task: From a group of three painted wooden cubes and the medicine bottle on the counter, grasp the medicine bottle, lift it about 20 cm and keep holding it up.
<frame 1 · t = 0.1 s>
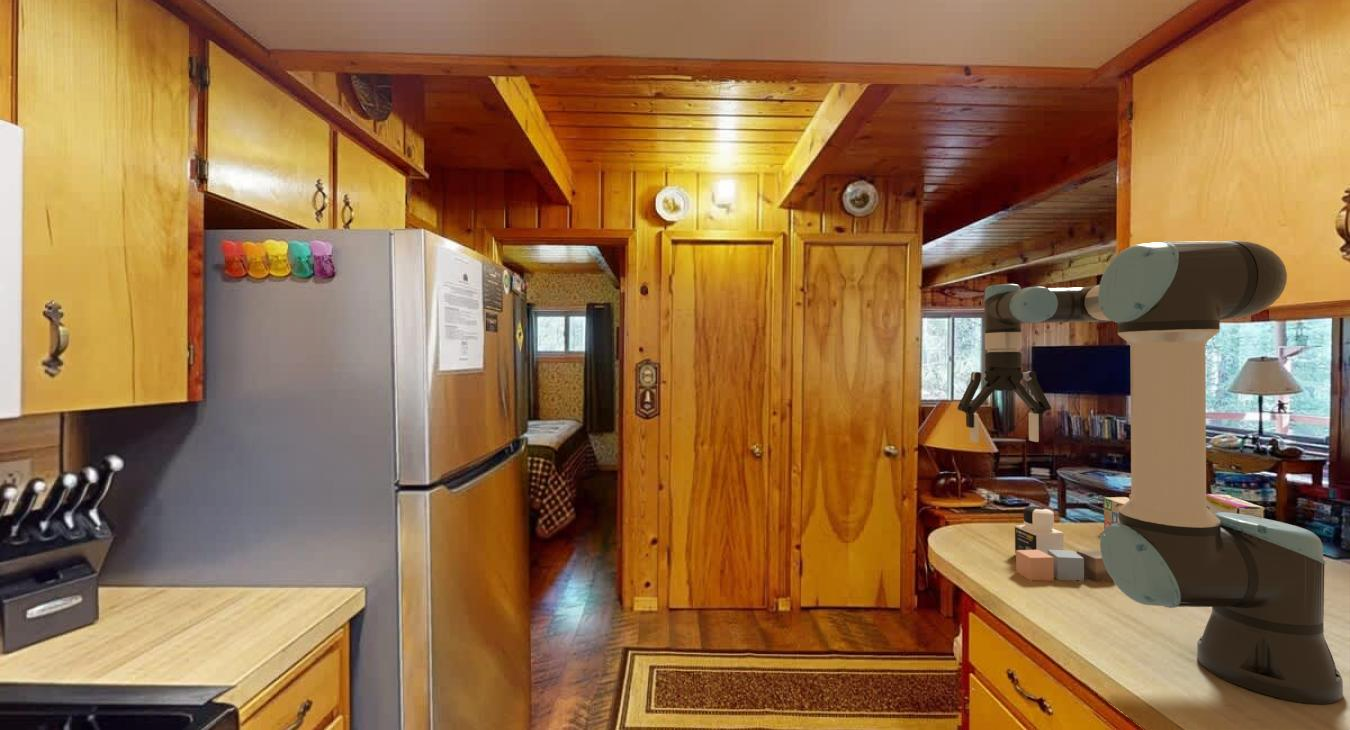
hand: (1003, 441, 136), 28 cm above the counter, fingers open, 13 cm apart
walnut cube: (1096, 576, 125), on the counter
candy bar box: (1233, 576, 124), on the counter
medicine bottle: (1038, 559, 136), on the counter
stack of blocks: (1146, 544, 146), on the counter
terracotta cube: (1034, 576, 126), on the counter
slate blue cube: (1065, 576, 125), on the counter
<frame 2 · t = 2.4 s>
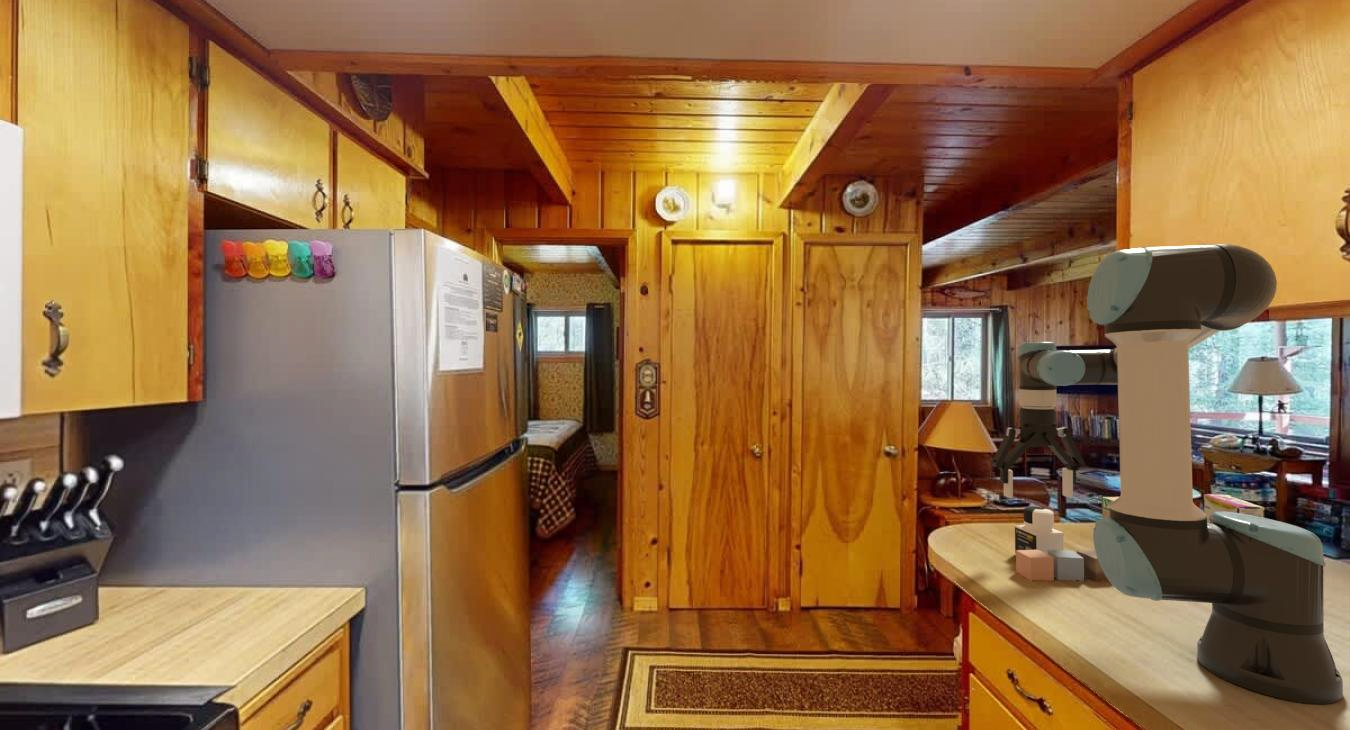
hand: (1037, 496, 136), 15 cm above the counter, fingers open, 13 cm apart
nothing on the counter moved.
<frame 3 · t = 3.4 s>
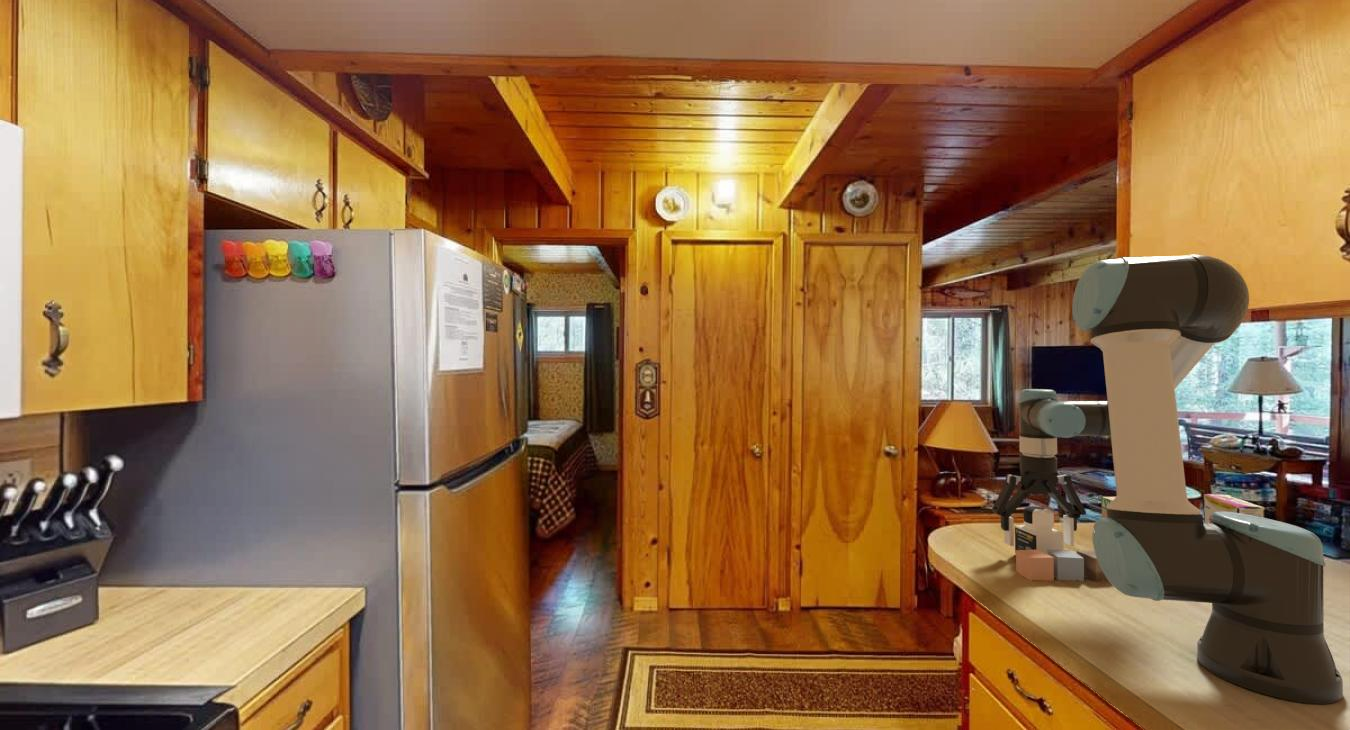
hand: (1038, 544, 136), 3 cm above the counter, fingers open, 13 cm apart
nothing on the counter moved.
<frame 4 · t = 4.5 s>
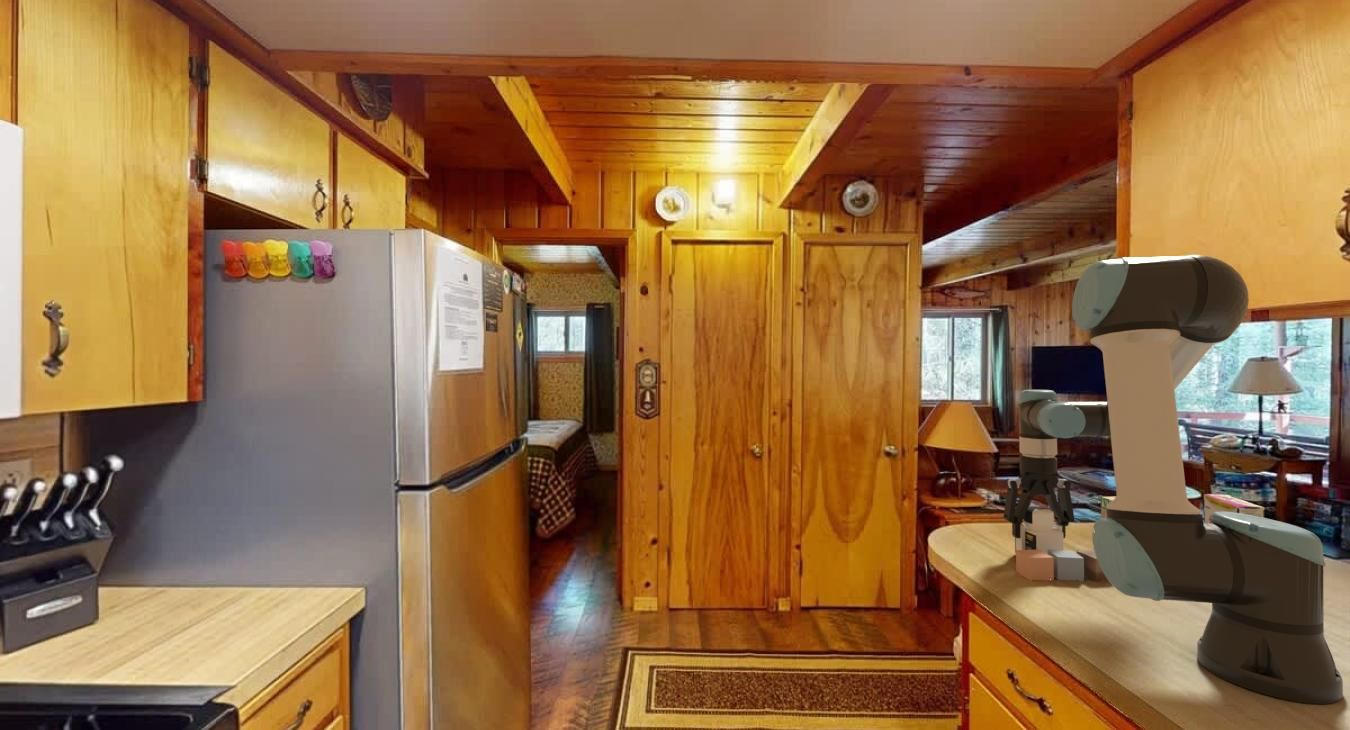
hand: (1038, 551, 136), 2 cm above the counter, fingers closed on medicine bottle, 8 cm apart
medicine bottle: (1038, 559, 136), on the counter, touching gripper
everything else where it was.
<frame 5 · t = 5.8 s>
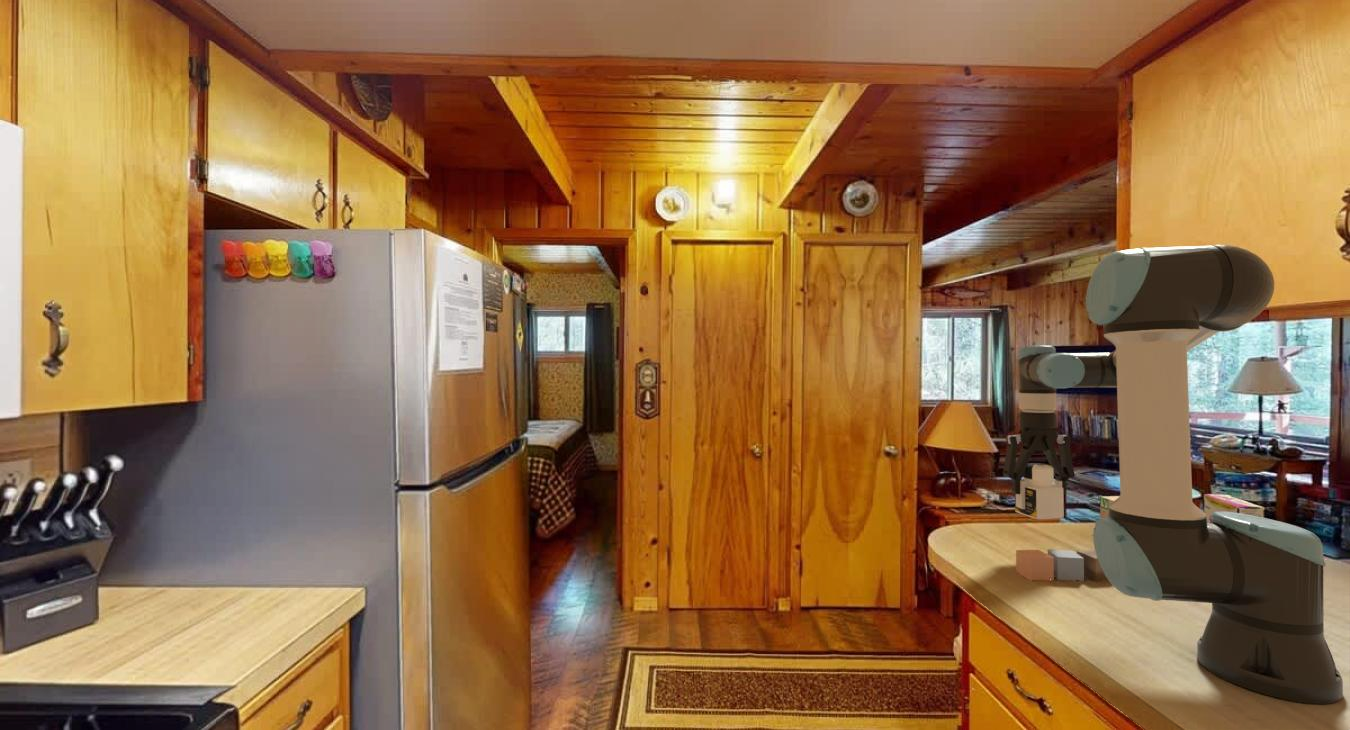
hand: (1038, 507, 136), 12 cm above the counter, fingers closed on medicine bottle, 8 cm apart
medicine bottle: (1038, 515, 136), point 10 cm above the counter, touching gripper
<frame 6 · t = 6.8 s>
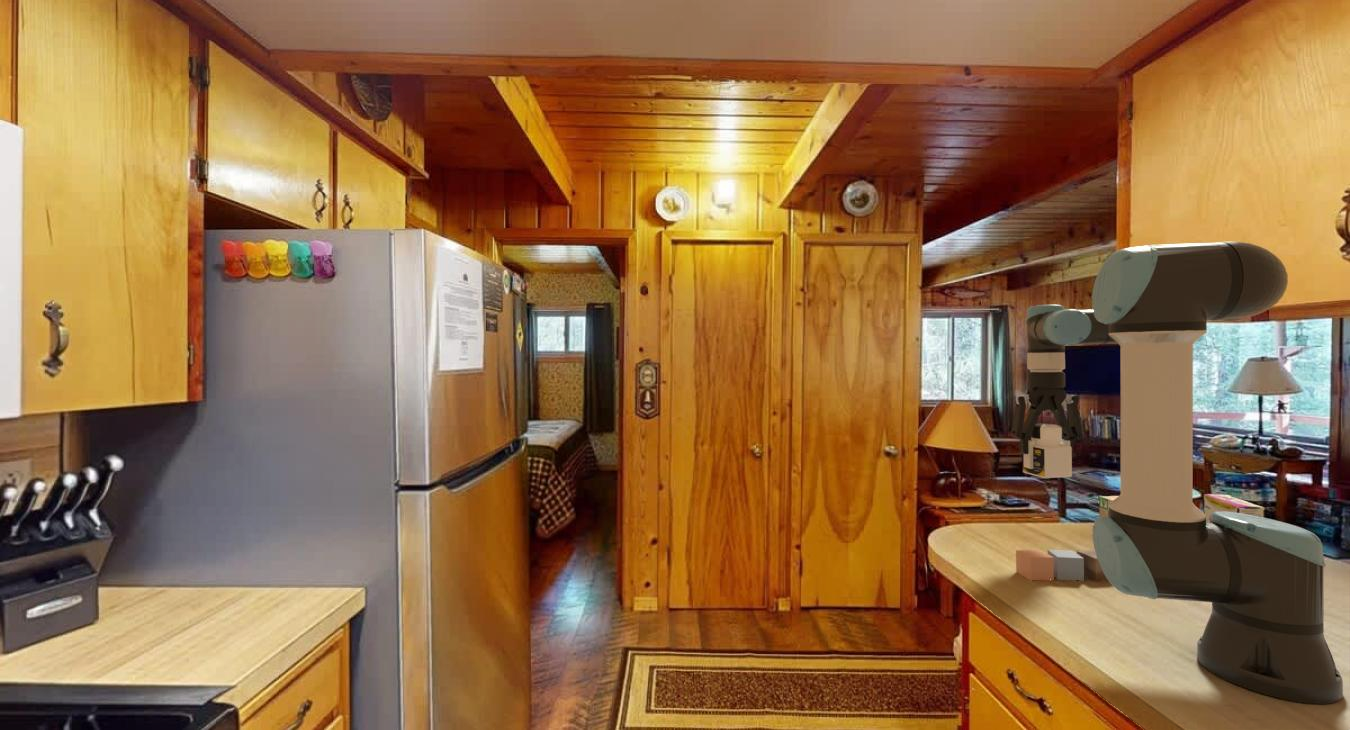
hand: (1046, 467, 136), 22 cm above the counter, fingers closed on medicine bottle, 8 cm apart
medicine bottle: (1046, 475, 136), point 20 cm above the counter, touching gripper
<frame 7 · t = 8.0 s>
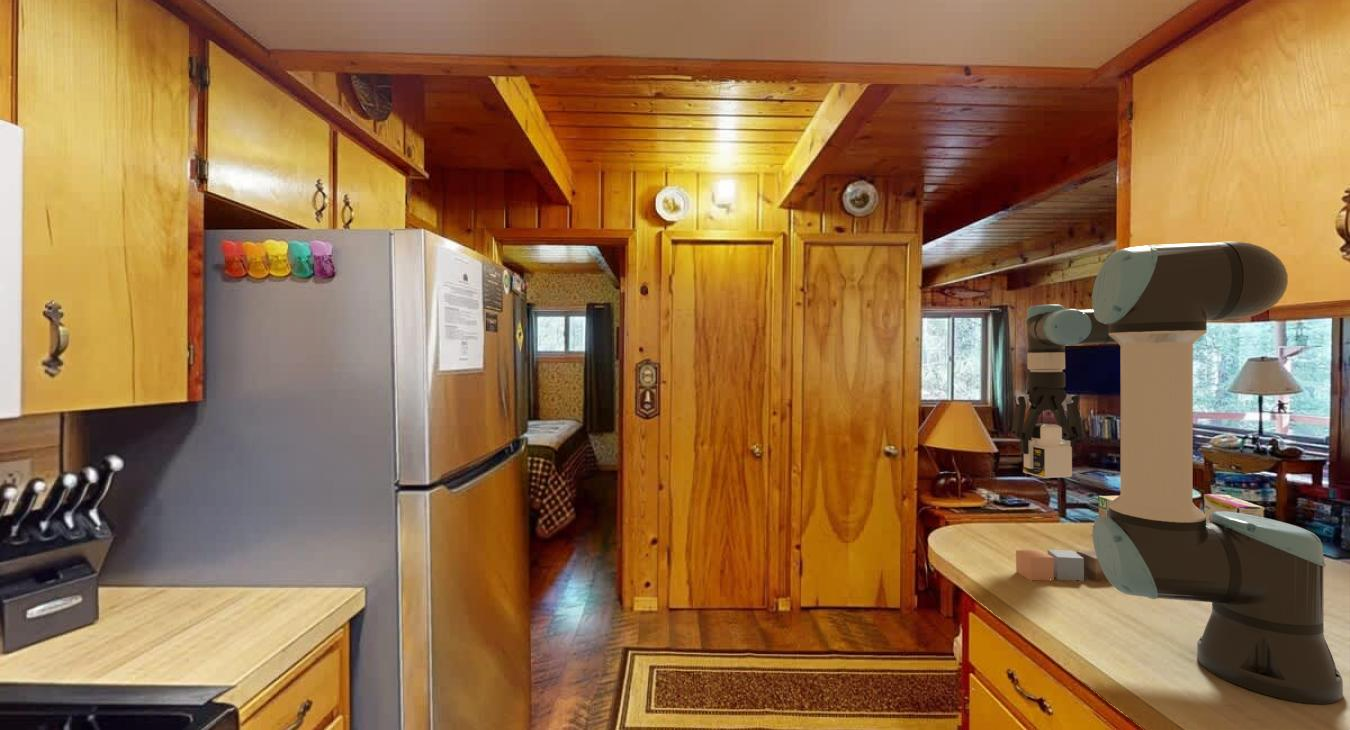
hand: (1046, 467, 136), 22 cm above the counter, fingers closed on medicine bottle, 8 cm apart
medicine bottle: (1046, 475, 136), point 20 cm above the counter, touching gripper
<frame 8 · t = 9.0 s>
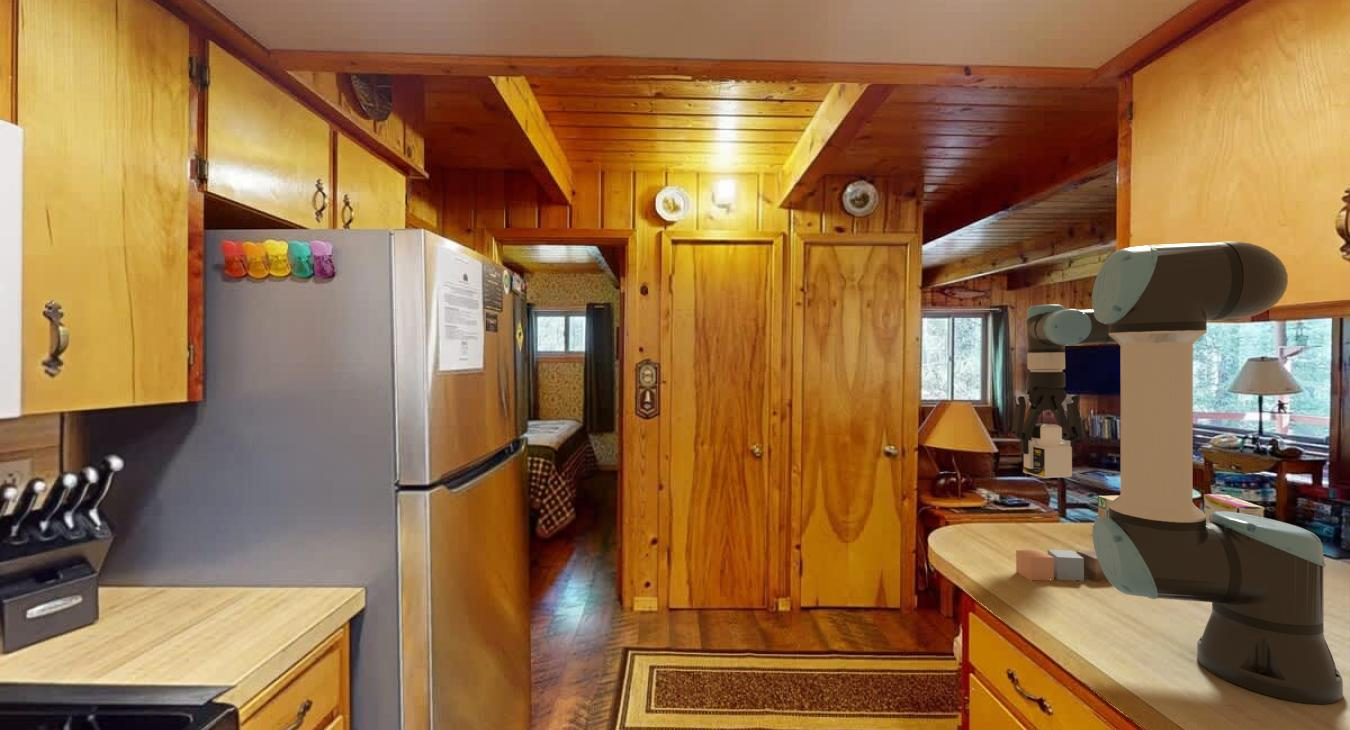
hand: (1046, 467, 136), 22 cm above the counter, fingers closed on medicine bottle, 8 cm apart
medicine bottle: (1046, 475, 136), point 20 cm above the counter, touching gripper
at the end: the gripper is holding medicine bottle; medicine bottle point 19.7 cm above the counter; slate blue cube moved 0.1 cm from its start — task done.
